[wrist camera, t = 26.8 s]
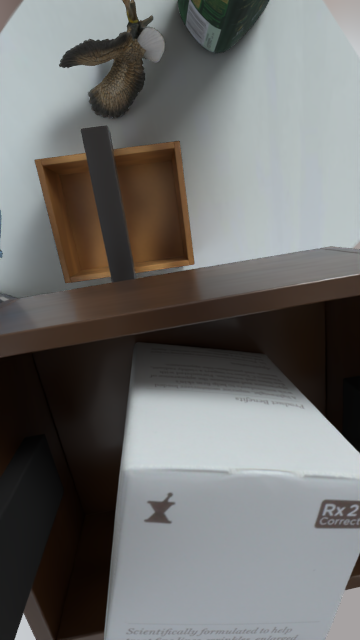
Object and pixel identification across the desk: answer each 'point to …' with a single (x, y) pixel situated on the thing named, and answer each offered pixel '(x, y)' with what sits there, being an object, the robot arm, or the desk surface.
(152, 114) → the desk surface
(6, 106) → the desk surface
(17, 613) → the robot arm
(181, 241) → the box
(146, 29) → the eagle figurine
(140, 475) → the product carton
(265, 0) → the coffee jar
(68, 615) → the dark brown wooden box
